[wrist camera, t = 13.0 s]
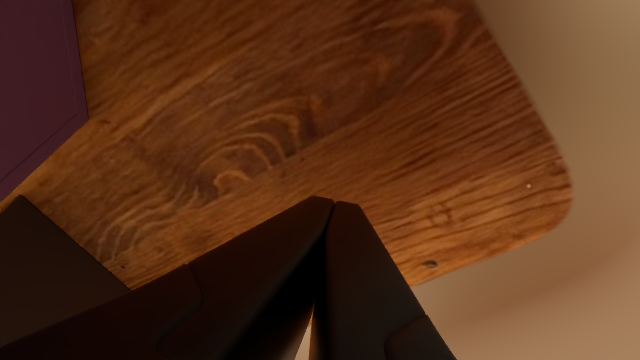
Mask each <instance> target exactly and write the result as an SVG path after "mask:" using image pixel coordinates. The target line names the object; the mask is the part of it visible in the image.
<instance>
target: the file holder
mask: <svg viewBox="0 0 640 360" xmlns="http://www.w3.org/2000/svg"><path fill="white" fill-rule="evenodd" d="M87 121H88V114H87V106H86V99H85V92H84V85H83V78H82V71H81V64H80V57H79V50H78V42H77V35H76V28H75V21H74V14H73V7H72V0H0V202H1V201H2V200H3V199H4V198H6V197H7V196H8V195H9V194H10V193H11V192H12V191H13V190H14V189H15V188H16V187H17V186H18V185H19V184H21V183H22V182H23V181H24V180H25V179H26V178H27V177H28V176H29V175H30V174H31V173H32V172H33V171H34V170H36V169H37V168H38V167H39V166H40V165H41V164H42V163H43V162H44V161H45V160H46V159H47V158H48V157H49V156H51V155H52V154H53V153H54V152H55V151H56V150H57V149H58V148H59V147H60V146H61V145H62V144H63V143H64V142H66V141H67V140H68V139H69V138H70V137H71V136H72V135H73V134H74V133H75V132H76V131H77V130H78V129H80V128H81V127H82V126H83V125H84V124H85V123H86V122H87Z"/></svg>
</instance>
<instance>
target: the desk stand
mask: <svg viewBox="0 0 640 360" xmlns="http://www.w3.org/2000/svg"><path fill="white" fill-rule="evenodd" d="M127 292H130V290H129V289H128V288H127V287H126V286H124V285H123V284H122V283H121V282H120V281H119V280H118V279H116V278H115V277H114V276H113V275H112V274H111V273H109V272H108V271H107V270H106V269H105V268H104V267H103V266H101V265H100V264H99V263H98V262H97V261H96V260H95V259H93V258H92V257H91V256H90V255H89V254H88V253H86V252H85V251H84V250H83V249H82V248H81V247H80V246H78V245H77V244H76V243H75V242H74V241H73V240H72V239H70V238H69V237H68V236H67V235H66V234H65V233H63V232H62V231H61V230H60V229H59V228H58V227H57V226H55V225H54V224H53V223H52V222H51V221H50V220H49V219H47V218H46V217H45V216H44V215H43V214H42V213H40V212H39V211H38V210H37V209H36V208H35V207H34V206H32V205H31V204H30V203H29V202H28V201H27V200H26V199H24V198H23V197H22V196H21V195H19V196H18V197H16V198H15V199H14V200H13V201H11V202H10V203H9V204H8V205H7V206H5V207H4V208H3V209H2V210H1V211H0V346H2V345H4V344H7V343H9V342H11V341H14V340H16V339H19V338H21V337H23V336H26V335H28V334H31V333H33V332H35V331H38V330H40V329H43V328H45V327H47V326H50V325H52V324H54V323H57V322H59V321H62V320H64V319H66V318H69V317H71V316H74V315H76V314H78V313H81V312H83V311H86V310H88V309H90V308H93V307H95V306H98V305H100V304H102V303H105V302H107V301H109V300H112V299H114V298H116V297H118V296H121V295H123V294H125V293H127Z"/></svg>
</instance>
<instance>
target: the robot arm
mask: <svg viewBox="0 0 640 360" xmlns="http://www.w3.org/2000/svg"><path fill="white" fill-rule="evenodd" d="M313 308H314V310H313ZM312 312H313V317H312V325H311V337H310V350H309V360H457V359H456V358H455V356H454V355H453V354H452V352H451V351H450V349H449V348H448V346H447V345H446V344H445V342H444V340H443V339H442V337H441V336H440V334H439V333H438V331H437V330H436V328H435V326H434V325H433V323H432V322H431V320H430V318H429V317H428V315H426V314H425V312H424V310H423V308H422V307H421V305H420V303H419V302H418V300H417V298H416V297H415V295H414V294H413V292H412V290H411V289H410V287H409V285H408V284H407V282H406V280H405V279H404V277H403V276H402V274H401V272H400V271H399V269H398V267H397V266H396V264H395V263H394V261H393V259H392V258H391V256H390V254H389V253H388V251H387V249H386V248H385V246H384V245H383V243H382V241H381V240H380V238H379V236H378V235H377V233H376V231H375V230H374V228H373V227H372V225H371V223H370V222H369V220H368V218H367V217H366V215H365V214H364V212H363V210H362V209H361V207H360V206H359V205H358V204H354V203H348V202H343V201H337V202H336V203H335V202H334V201H333V200H332V199H328V198H323V197H318V196H311V197H309V198H307V199H305V200H303V201H301V202H299V203H298V204H296V205H294V206H292V207H290V208H288V209H287V210H285V211H283V212H281V213H279V214H277V215H275V216H274V217H272V218H270V219H268V220H266V221H264V222H263V223H261V224H259V225H257V226H255V227H253V228H252V229H250V230H248V231H246V232H244V233H242V234H240V235H239V236H237V237H235V238H233V239H231V240H229V241H228V242H226V243H224V244H222V245H220V246H218V247H216V248H215V249H213V250H211V251H209V252H207V253H205V254H204V255H202V256H200V257H198V258H196V259H194V260H192V261H191V262H189V263H188V264H183V265H182V266H180V267H178V268H176V269H174V270H172V271H170V272H169V273H167V274H165V275H163V276H161V277H159V278H157V279H155V280H153V281H151V282H149V283H147V284H145V285H143V286H141V287H139V288H137V289H134V290H132V291H130V292H127V293H125V294H123V295H121V296H118V297H116V298H114V299H112V300H109V301H107V302H105V303H102V304H100V305H98V306H95V307H93V308H90V309H88V310H86V311H83V312H81V313H78V314H76V315H74V316H71V317H69V318H66V319H64V320H62V321H59V322H57V323H54V324H52V325H50V326H47V327H45V328H43V329H40V330H38V331H35V332H33V333H31V334H28V335H26V336H23V337H21V338H19V339H16V340H14V341H11V342H9V343H7V344H4V345H2V346H0V360H294V359H295V356H296V354H297V351H298V349H299V347H300V344H301V341H302V339H303V336H304V334H305V332H306V329H307V326H308V324H309V321H310V318H311V315H312Z"/></svg>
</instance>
